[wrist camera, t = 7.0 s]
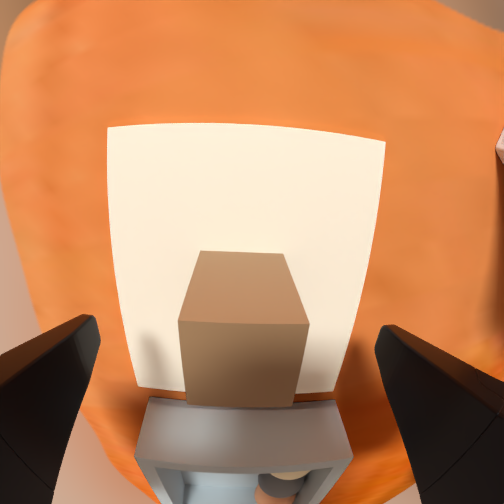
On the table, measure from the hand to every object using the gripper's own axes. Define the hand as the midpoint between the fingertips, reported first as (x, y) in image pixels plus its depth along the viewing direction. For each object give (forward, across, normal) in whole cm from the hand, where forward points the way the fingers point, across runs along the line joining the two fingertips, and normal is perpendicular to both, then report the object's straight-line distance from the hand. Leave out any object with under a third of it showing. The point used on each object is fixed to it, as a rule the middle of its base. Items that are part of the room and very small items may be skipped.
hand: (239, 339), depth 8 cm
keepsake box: (+3, 0, +13) cm, 13 cm away
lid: (+4, 0, 0) cm, 4 cm away
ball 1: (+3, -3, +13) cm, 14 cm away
